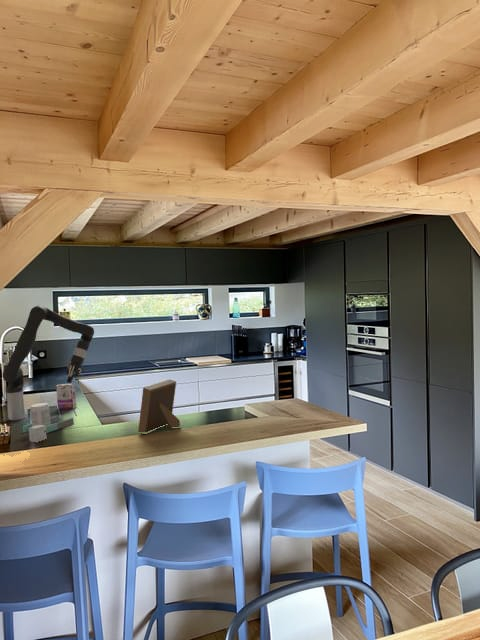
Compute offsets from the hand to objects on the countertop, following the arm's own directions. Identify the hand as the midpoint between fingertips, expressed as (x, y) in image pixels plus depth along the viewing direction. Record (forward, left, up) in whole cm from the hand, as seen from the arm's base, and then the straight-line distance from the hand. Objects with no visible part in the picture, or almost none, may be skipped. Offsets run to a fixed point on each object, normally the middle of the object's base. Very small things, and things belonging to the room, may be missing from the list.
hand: (68, 382), depth 291 cm
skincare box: (+21, -39, -22) cm, 50 cm away
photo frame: (+75, -3, -22) cm, 79 cm away
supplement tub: (+7, -26, -22) cm, 35 cm away
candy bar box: (-24, +16, -22) cm, 36 cm away
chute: (+6, -21, -22) cm, 31 cm away
